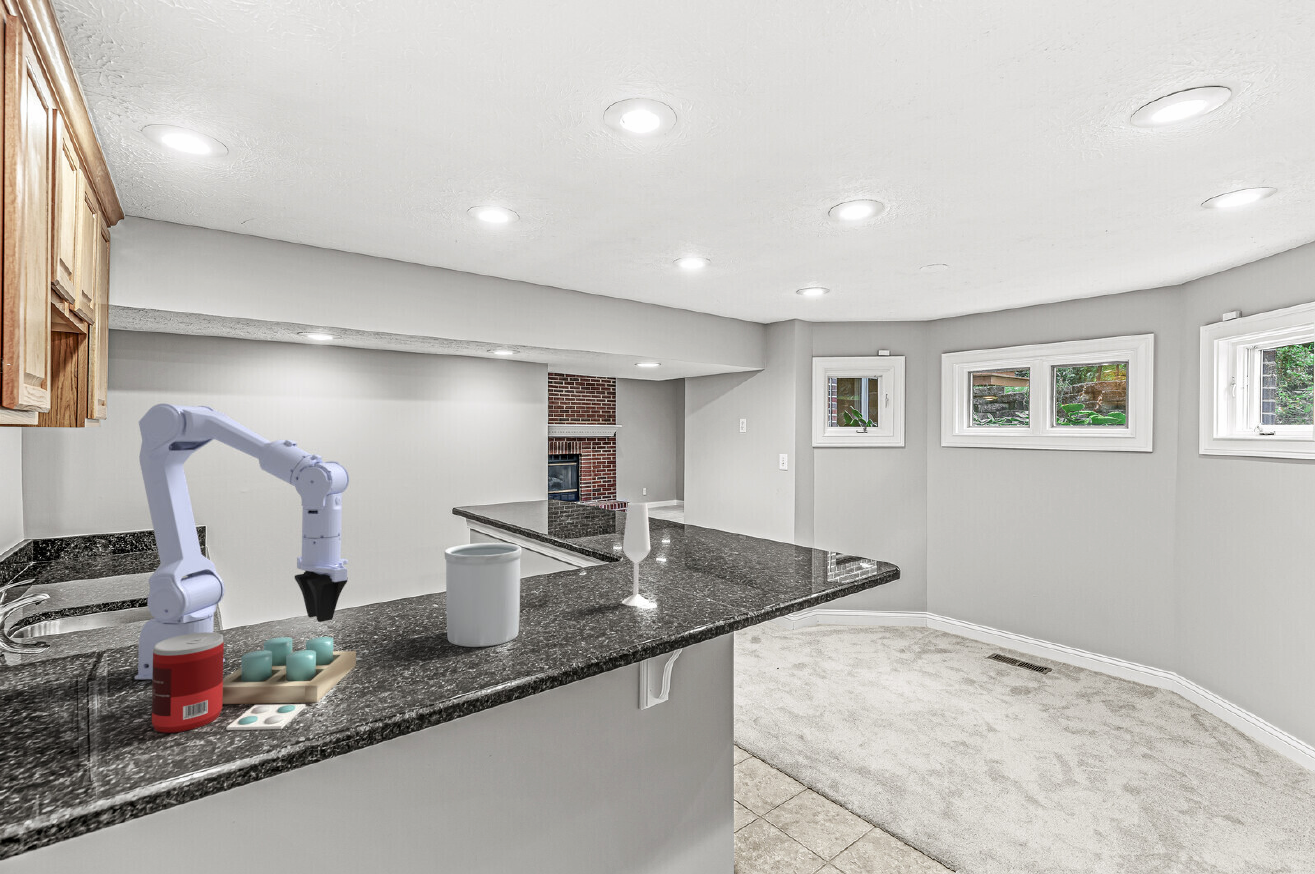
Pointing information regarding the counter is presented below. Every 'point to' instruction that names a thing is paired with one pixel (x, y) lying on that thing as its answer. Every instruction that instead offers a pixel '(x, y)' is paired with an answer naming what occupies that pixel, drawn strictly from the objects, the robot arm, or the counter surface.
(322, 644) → the button
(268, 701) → the wooden compartment tray
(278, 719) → the tile
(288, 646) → the button
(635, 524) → the champagne flute
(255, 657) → the button
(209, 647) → the canned food
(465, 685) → the counter surface
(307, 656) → the button
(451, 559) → the utensil holder
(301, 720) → the counter surface
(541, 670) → the counter surface
